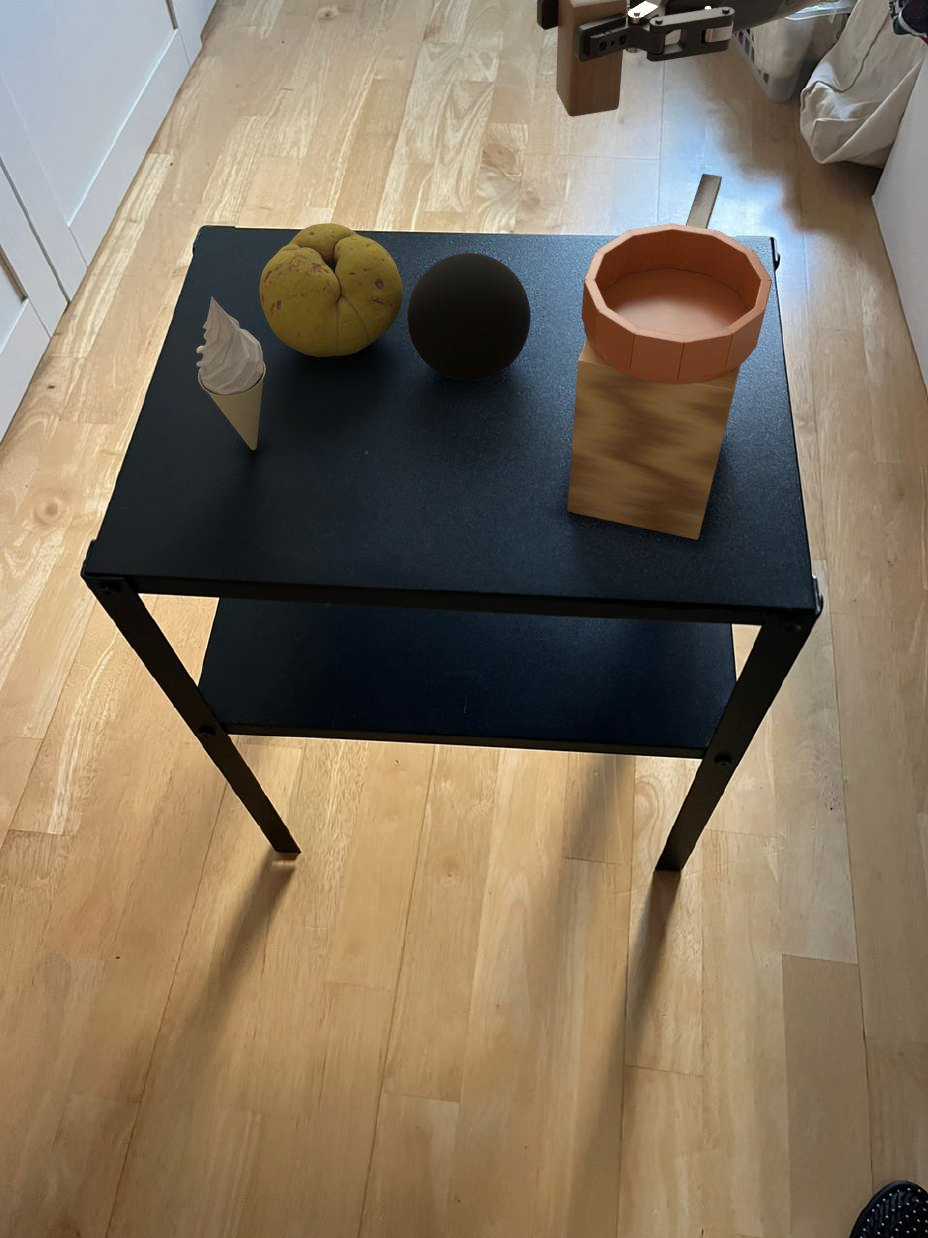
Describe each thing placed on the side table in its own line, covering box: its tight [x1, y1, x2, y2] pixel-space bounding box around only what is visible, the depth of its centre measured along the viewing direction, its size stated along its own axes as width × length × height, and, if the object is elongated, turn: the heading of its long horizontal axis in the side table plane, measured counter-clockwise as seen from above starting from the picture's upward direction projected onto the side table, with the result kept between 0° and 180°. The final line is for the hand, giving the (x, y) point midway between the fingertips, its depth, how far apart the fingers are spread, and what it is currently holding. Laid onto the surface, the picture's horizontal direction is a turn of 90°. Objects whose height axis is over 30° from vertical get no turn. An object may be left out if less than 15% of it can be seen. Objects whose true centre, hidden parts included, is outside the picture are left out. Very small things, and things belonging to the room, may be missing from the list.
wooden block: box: [555, 0, 628, 118], centre depth 75 cm, size 4×4×8 cm
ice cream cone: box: [196, 295, 267, 451], centre depth 78 cm, size 5×5×15 cm
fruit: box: [258, 222, 404, 358], centre depth 87 cm, size 11×12×10 cm
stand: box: [566, 337, 742, 541], centre depth 75 cm, size 10×10×15 cm
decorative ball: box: [407, 252, 532, 382], centre depth 85 cm, size 10×10×10 cm
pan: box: [581, 173, 773, 384], centre depth 69 cm, size 18×11×4 cm, turn 162°
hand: (558, 28), depth 73 cm, fingers closed on wooden block, 4 cm apart
